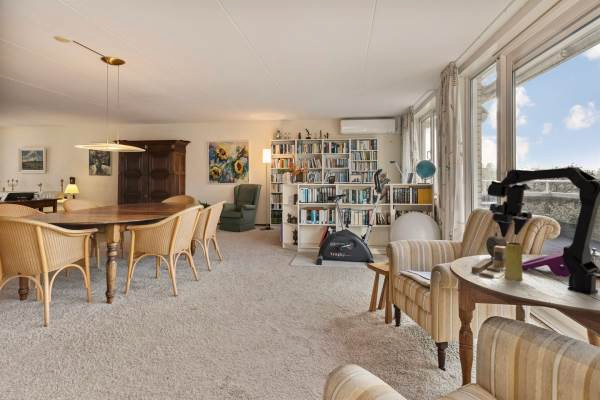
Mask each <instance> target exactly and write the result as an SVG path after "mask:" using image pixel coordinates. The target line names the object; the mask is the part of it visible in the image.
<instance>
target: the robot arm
mask: <svg viewBox="0 0 600 400" xmlns="http://www.w3.org/2000/svg"><path fill="white" fill-rule="evenodd" d="M565 178H566V179H568V180H569V181H570V182H571V183H572V184H573V185H574V187H576V188H577V189H578V190H579V194H578V196H579V197H578V198H579V200H580V209H579V214H578V217H577V222H576V226H575V231H574V235H573V239H572V243H571V244H570V245H566V246H563V250H562V251H563V255H562V256H561V258H563V263H564V264H565V265H566V266H567V268H568V270H569V273H570V275H569V276H568V286H567V290H570V291H574V292H578V293H581V294H582V293H583V294H586V295H591V294H595V293H597V292H599V289H596V288H597V286H596V285H597V273H598V271H599V270H600V268H599V266H597V265H596V264H595V262H593V260H592V252H591V248H590V242H591V238H592V234H593V230H594V228H595V227H594V226H595V222H596V218H597V215H598V214H597V213H598V211H599V210H598V209H599V207H600V179H597V178H596V177H594V176H593V175H591V174H589V173H587V172H586V171H583V170H582V169H581V168H580V167H578V166H568V167H560V168H551V169H550V168H549V169H537V170H536V169H535V170H534V169H523V168H522V169H521V168H520V169H516V168H514V169H510V170H509V171H508V172H507V175H506V176H505V177H504V178H503V179H502V180H501V181H497V180H491V183H490V184H489V186H488V187H487V195H488V196H490V197H496V198H503V199H504V198H505V199H506V200H504V201H502V204H499V205H498V204H497V203H491V204H490V206H489V211H490V212H491V214H492V219H491V220H493V221H494V222H496V223H497V225H498V226H499V227H498V228H499V229H500V234H501V235H500V236H502V237H503V238H506V236H507V235H508V232H509V231H510V228H511V226H512V224H513V225H514V227H513V232H514V233H513V234H514V235H515V236H518V234H520V232H521V230H522V229H523V228H524V227H525V226H526V225H527V224H528V222H529V221H530V220H531V219H532V217H533V213H532V212H531V211H525V210H523V209H522V208H523V206H525V205H526V203H525V202H524V196H525V191H528V190H529V191H530V190H531V187H530V186H529V185H528V184H527V183H529V182H533V181H536V180H548V179H551V180H552V179H565ZM512 221H513V222H514V223H513V222H512Z"/></svg>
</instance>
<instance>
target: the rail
mask: <svg viewBox="0 0 600 400" xmlns="http://www.w3.org/2000/svg"><path fill="white" fill-rule="evenodd" d="M505 266H506V247H505V246H497V245H496V246H495V247H494V258H492V259H491V258H484V259H483V260H481V261H479V262H477V263H476V264H474V265H473V266H471V273H472V274H475V275H477V276H479V277H482V278H488V279H500V278H501V277H502V276H504V275H505V272H501V270H502V271H505Z"/></svg>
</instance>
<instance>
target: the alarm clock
mask: <svg viewBox="0 0 600 400" xmlns="http://www.w3.org/2000/svg"><path fill="white" fill-rule="evenodd" d="M495 229H497V232H496V231H495ZM493 233H494V235H490V236H488V238H487V239H486V242H485V243H486V244H485V245H486V250H487V253H488V254H489V255H490V256H491V257H490V259H494V247H495V246H496V245H497V246H505V247H506V243H507V241H506V239H505V237H502V235H500V234H499V227H498V226H495V227H494V228H493Z"/></svg>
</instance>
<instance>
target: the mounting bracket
mask: <svg viewBox="0 0 600 400" xmlns="http://www.w3.org/2000/svg"><path fill="white" fill-rule="evenodd" d="M562 255H563V250H561V251H557V252H554V253H550V254H547V255H543V256H539V257H535V258H532V259H528V260H526V261H522V271H527V270H533V269H536V268H540V267H544V266H548V268H549V270H550V272H551V273H552V274H553V275H554V276H556V277H561V278H569V275H570V273H569V270H568V268H567V266H566V265H565V264H564V263H563V258H561V256H562Z"/></svg>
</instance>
